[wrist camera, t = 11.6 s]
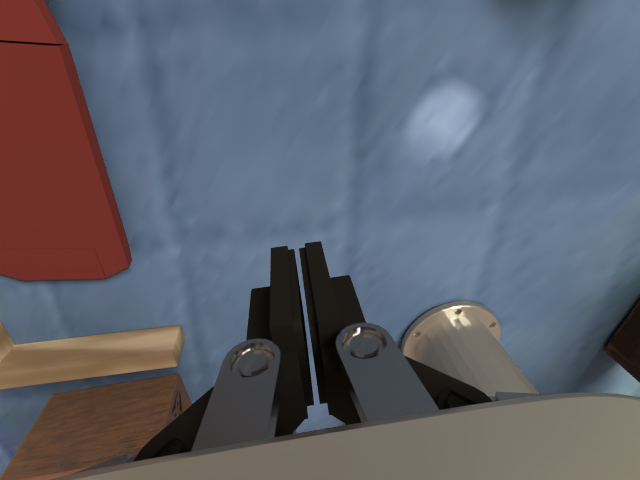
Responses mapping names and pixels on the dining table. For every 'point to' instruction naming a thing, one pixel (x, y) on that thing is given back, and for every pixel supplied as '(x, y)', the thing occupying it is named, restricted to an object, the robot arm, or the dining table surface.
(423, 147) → the dining table surface
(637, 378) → the decorative book
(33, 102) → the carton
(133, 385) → the tissue box cover
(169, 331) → the pine frame
